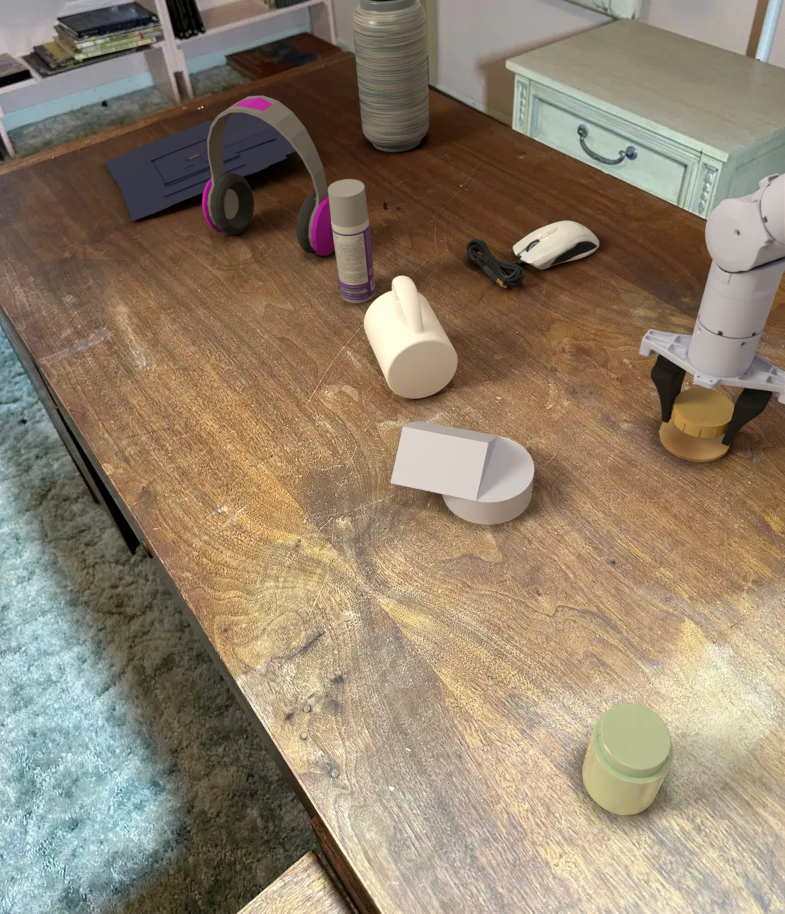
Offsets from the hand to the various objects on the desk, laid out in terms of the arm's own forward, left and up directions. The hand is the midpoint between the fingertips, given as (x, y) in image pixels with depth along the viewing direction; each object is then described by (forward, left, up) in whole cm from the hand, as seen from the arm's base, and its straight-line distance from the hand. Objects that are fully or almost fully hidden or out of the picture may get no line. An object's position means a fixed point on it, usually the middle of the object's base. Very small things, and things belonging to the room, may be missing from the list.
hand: (697, 427), depth 79 cm
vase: (+46, -68, -2) cm, 82 cm away
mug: (+32, -7, -2) cm, 32 cm away
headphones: (+57, -34, -2) cm, 66 cm away
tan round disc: (0, 0, -2) cm, 2 cm away
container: (+42, -22, -2) cm, 47 cm away
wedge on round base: (+23, +10, -2) cm, 25 cm away
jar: (+8, +37, -2) cm, 38 cm away
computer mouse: (+19, -33, -2) cm, 38 cm away
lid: (0, 0, +3) cm, 3 cm away
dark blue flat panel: (+77, -55, -2) cm, 94 cm away
